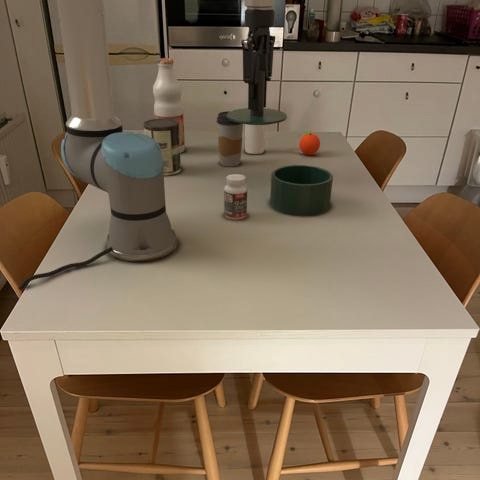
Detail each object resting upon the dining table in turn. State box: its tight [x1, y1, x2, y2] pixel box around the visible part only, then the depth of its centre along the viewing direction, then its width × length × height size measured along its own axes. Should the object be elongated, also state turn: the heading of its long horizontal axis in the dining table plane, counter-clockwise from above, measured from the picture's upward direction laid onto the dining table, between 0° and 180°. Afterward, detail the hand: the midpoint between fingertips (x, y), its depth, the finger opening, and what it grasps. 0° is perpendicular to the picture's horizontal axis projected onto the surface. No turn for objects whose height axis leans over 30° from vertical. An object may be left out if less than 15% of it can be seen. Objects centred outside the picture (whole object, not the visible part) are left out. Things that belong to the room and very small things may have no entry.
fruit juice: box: [152, 57, 186, 154], centre depth 166 cm, size 9×9×28 cm
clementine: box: [298, 132, 321, 156], centre depth 170 cm, size 8×7×7 cm
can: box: [244, 124, 266, 156], centre depth 170 cm, size 6×6×12 cm
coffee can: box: [142, 118, 182, 177], centre depth 153 cm, size 10×10×14 cm
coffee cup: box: [216, 110, 244, 167], centre depth 159 cm, size 8×8×15 cm
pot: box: [269, 164, 334, 217], centre depth 134 cm, size 16×16×8 cm
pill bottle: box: [223, 173, 248, 221], centre depth 126 cm, size 6×6×10 cm
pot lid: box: [227, 70, 288, 126], centre depth 139 cm, size 17×17×12 cm
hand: (257, 107), depth 140 cm, fingers closed on pot lid, 4 cm apart
